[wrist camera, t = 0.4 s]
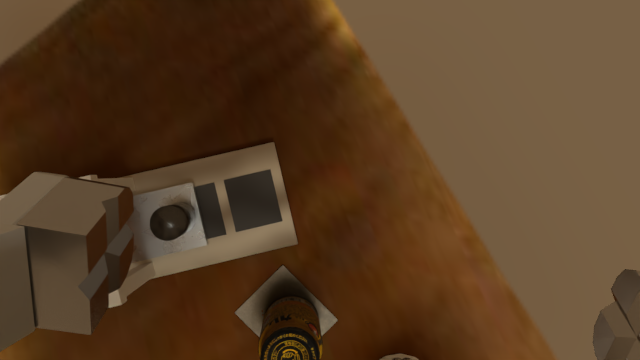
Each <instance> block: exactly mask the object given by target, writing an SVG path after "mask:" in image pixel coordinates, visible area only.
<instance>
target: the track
mask: <svg viewBox="0 0 640 360" xmlns="http://www.w3.org/2000/svg"><path fill="white" fill-rule="evenodd" d="M120 178H133V182H134V186H135V190H136V191H132V193H133V196H135V195H139V194H144V193H148V192H152V191H156V190H161V189H165V188H169V187H174V186H178V185H182V184H187V183H191V182H194V185H195V190H196V194H197V198H198V202H199V206H200V210H201V215H202V219H203V223H204V227H205V231H206V236H207V240H208V245H206V246H201V247H197V248H193V249H189V250H185V251H180V252H176V253H172V254H168V255H164V256H159V257H155V258H151V259H147V260H143V261H138V262H134V263H131V265H130V268H129V271H130V270H132V269H134V268H135V267H137V266H139V265H141V264H146V263H150V262H153V265H154V269H155V273H156V275H155V276H154V277H152V278H151V279H153V278H157V277H161V276H165V275H170V274H174V273H178V272H182V271H186V270H191V269H195V268H199V267H203V266H207V265H211V264H216V263H220V262H224V261H228V260H232V259H237V258H241V257H245V256H249V255H253V254H257V253H262V252H266V251H270V250H274V249H278V248H282V247H287V246H291V245H295V244H298V241H297V237H296V233H295V229H294V224H293V220H292V216H291V212H290V207H289V203H288V199H287V195H286V190H285V186H284V182H283V178H282V173H281V169H280V165H279V161H278V156H277V152H276V148H275V144H274V142H271V143H267V144H263V145H258V146H254V147H250V148H245V149H241V150H237V151H232V152H228V153H224V154H219V155H215V156H211V157H207V158H202V159H198V160H194V161H189V162H185V163H181V164H176V165H172V166H168V167H163V168H159V169H155V170H150V171H146V172H142V173H137V174H133V175H129V176H124V177H120Z"/></svg>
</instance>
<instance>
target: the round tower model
mask: <svg viewBox="0 0 640 360" xmlns="http://www.w3.org/2000/svg"><path fill="white" fill-rule="evenodd" d="M380 360H419V359H417V358H416V357H414V356H410V355H405V354H401V353H399V354H393V355H387V356H384V357H383V358H381V359H380Z"/></svg>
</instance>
